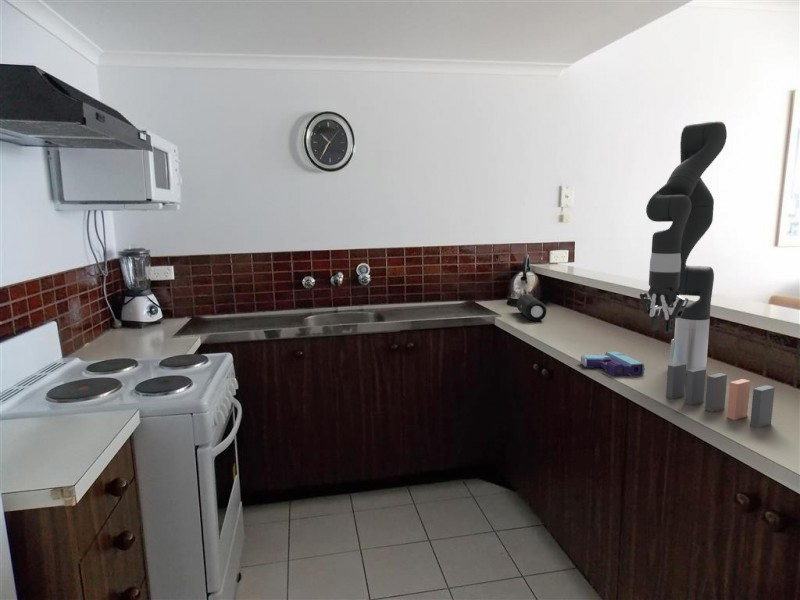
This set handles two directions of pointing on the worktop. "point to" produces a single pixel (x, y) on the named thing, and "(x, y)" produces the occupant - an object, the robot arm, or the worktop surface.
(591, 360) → the pistol
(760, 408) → the domino
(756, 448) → the worktop surface
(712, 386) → the domino
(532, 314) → the portable speaker
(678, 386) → the domino
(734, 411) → the domino
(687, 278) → the robot arm
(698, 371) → the domino
